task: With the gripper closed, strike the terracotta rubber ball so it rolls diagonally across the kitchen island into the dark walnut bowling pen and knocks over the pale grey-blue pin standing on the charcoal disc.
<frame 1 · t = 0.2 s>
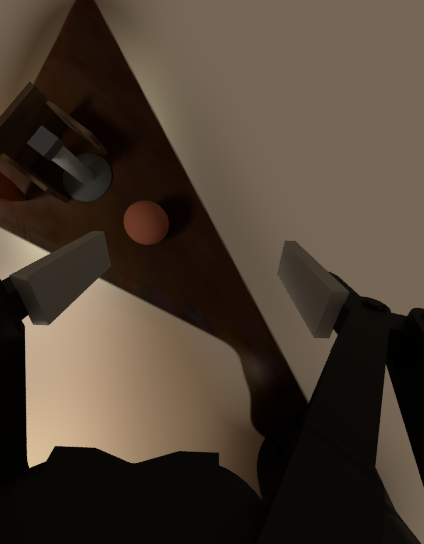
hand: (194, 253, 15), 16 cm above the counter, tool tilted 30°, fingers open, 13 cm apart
ball: (147, 223, 28), on the counter
carrot: (26, 199, 33), on the counter
pin disc: (87, 177, 32), on the counter
pin: (87, 177, 32), resting on pin disc
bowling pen: (87, 177, 32), on the counter
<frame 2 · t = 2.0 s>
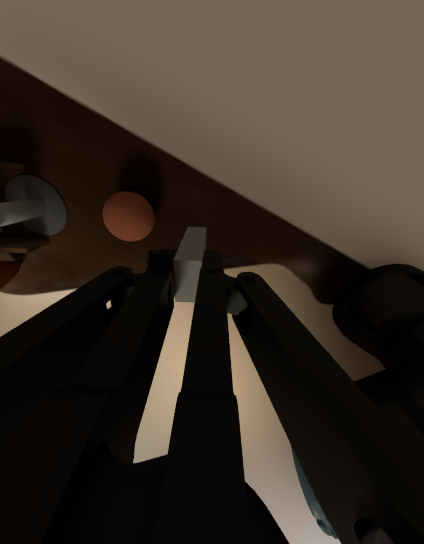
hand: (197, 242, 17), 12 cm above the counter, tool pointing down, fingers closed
ball: (129, 217, 25), on the counter
carrot: (20, 262, 32), on the counter
pin disc: (37, 206, 28), on the counter
pin: (37, 206, 28), resting on pin disc
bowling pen: (37, 206, 28), on the counter
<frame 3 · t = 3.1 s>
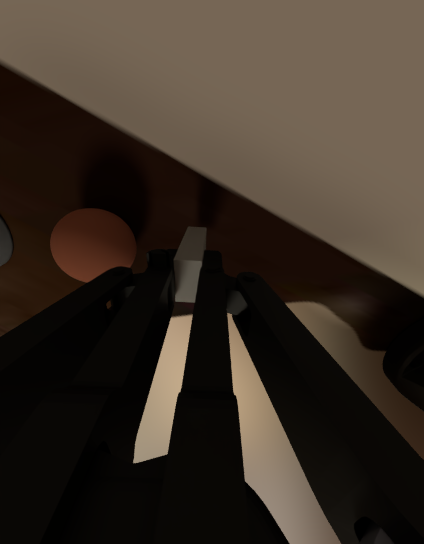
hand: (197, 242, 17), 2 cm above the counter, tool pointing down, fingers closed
ball: (97, 246, 16), on the counter
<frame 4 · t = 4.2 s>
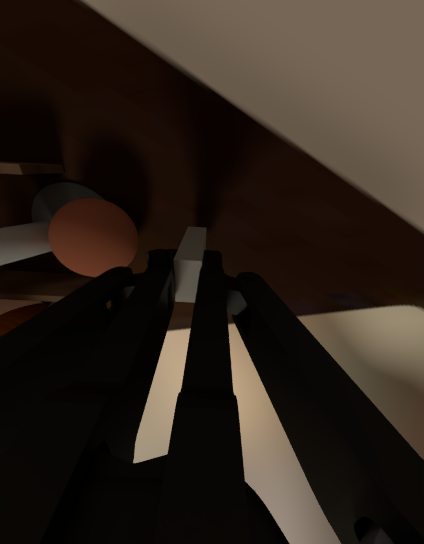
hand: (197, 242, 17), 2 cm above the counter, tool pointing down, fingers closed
ball: (97, 238, 16), on the counter
carrot: (48, 303, 23), on the counter
pin disc: (79, 229, 18), on the counter
pin: (72, 231, 18), resting on pin disc, tilted 25°
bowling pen: (79, 229, 18), on the counter
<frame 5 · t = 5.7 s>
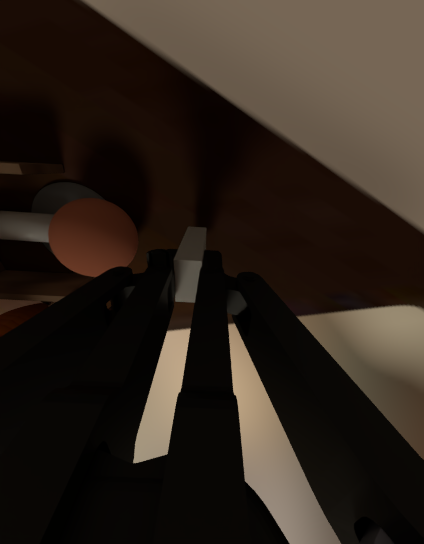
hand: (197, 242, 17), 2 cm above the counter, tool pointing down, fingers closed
ball: (97, 238, 16), on the counter
carrot: (48, 303, 23), on the counter
pin disc: (79, 229, 18), on the counter
pin: (64, 229, 17), point 1 cm above the counter, tilted 89°
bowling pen: (79, 229, 18), on the counter
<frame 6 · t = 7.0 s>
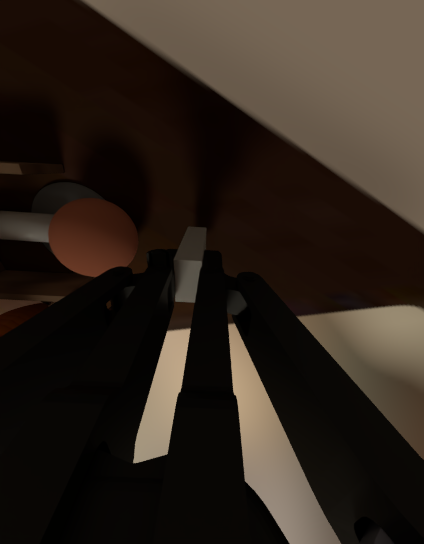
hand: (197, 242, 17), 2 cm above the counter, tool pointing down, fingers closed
ball: (97, 238, 16), on the counter
carrot: (48, 303, 23), on the counter
pin disc: (79, 229, 18), on the counter
pin: (64, 229, 17), point 1 cm above the counter, tilted 89°
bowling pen: (79, 229, 18), on the counter
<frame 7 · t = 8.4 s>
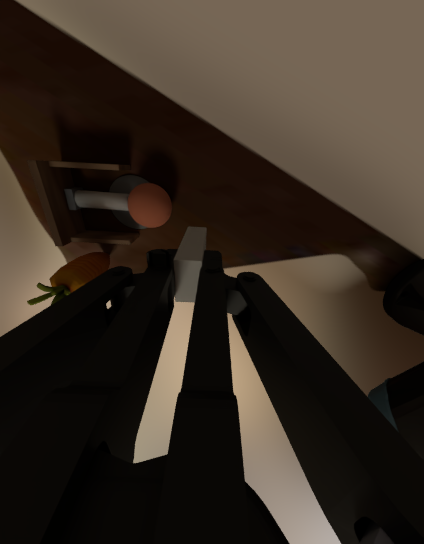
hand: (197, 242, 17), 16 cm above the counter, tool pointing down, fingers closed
ball: (150, 206, 28), on the counter
carrot: (108, 254, 36), on the counter
pin disc: (135, 203, 31), on the counter
pin: (128, 202, 30), point 1 cm above the counter, tilted 89°
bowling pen: (135, 203, 31), on the counter
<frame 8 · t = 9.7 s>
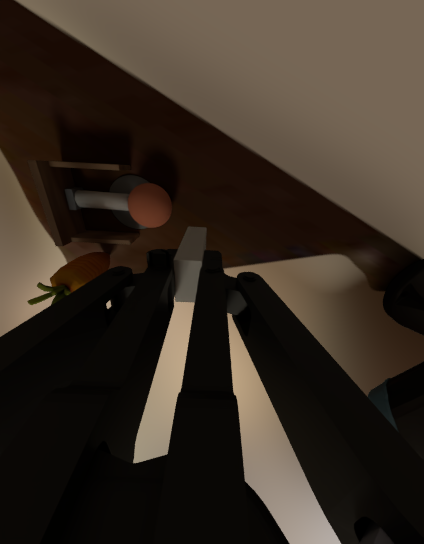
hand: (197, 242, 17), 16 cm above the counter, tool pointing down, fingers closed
ball: (150, 206, 28), on the counter
carrot: (108, 254, 36), on the counter
pin disc: (135, 203, 31), on the counter
pin: (129, 202, 30), point 1 cm above the counter, tilted 89°
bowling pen: (135, 203, 31), on the counter
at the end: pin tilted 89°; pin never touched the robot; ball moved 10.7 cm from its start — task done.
